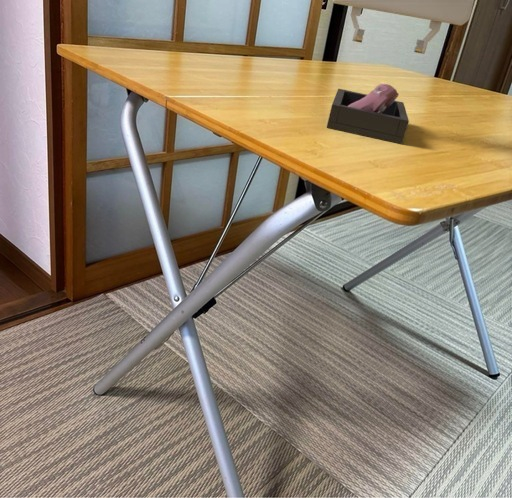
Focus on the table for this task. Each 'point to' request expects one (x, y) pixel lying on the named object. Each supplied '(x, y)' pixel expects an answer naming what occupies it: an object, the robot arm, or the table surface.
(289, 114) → the table surface
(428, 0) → the robot arm
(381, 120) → the open box
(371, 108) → the video game controller
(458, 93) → the table surface
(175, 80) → the table surface
